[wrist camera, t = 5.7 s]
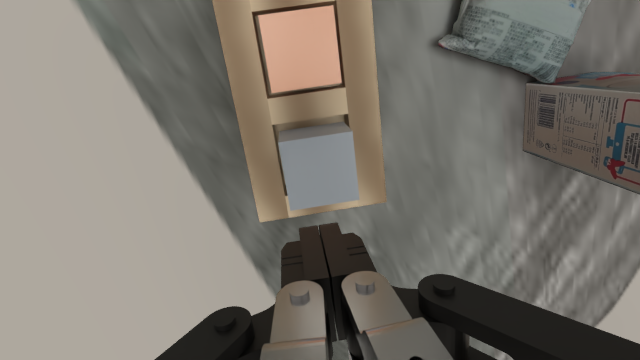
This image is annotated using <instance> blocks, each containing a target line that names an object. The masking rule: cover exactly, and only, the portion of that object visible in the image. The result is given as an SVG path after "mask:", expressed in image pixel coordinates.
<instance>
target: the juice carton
mask: <svg viewBox="0 0 640 360" xmlns="http://www.w3.org/2000/svg"><path fill="white" fill-rule="evenodd" d="M554 82H555V83H551V84H548V83H544V82H541V81H536V82H530V83H526V99H525V118H524V137H523V151H524V152H527V153H530V154H532V155H535V156H538V157H540V158H543V159H546V160H549V161H551V162H554V163H557V164H559V165H562V166H565V167H567V168H570V169H573V170H575V171H578V172H581V173H583V174H586V175H589V176H591V177H594V178H597V179H600V180H602V181H605V182H608V183H610V184H613V185H616V186H618V187H621V188H624V189H626V190H629V191H632V192H634V193H637V194H640V73H611V72H591V73H585V74H579V75H573V76H567V77H561V78H556V79H555V81H554Z"/></svg>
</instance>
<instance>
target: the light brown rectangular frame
mask: <svg viewBox="0 0 640 360" xmlns="http://www.w3.org/2000/svg"><path fill="white" fill-rule="evenodd" d="M212 2H213V7H214V11H215V16H216V21H217V25H218V30H219V35H220V39H221V44H222V49H223V53H224V58H225V63H226V67H227V72H228V77H229V81H230V86H231V91H232V95H233V100H234V105H235V109H236V114H237V119H238V123H239V128H240V133H241V137H242V142H243V147H244V151H245V156H246V161H247V165H248V170H249V175H250V179H251V184H252V189H253V193H254V198H255V203H256V207H257V212H258V217H259V221H260V222H265V221H272V220H278V219H284V218H290V217H296V216H303V215H309V214H315V213H321V212H327V211H334V210H340V209H346V208H352V207H358V206H365V205H371V204H377V203H383V202H386V188H385V175H384V161H383V148H382V135H381V121H380V108H379V95H378V81H377V68H376V54H375V41H374V28H373V14H372V1H371V0H212ZM331 5H333V7H334V16H335V25H336V35H337V44H338V53H339V62H340V71H341V81H342V83H338V84H331V85H325V86H318V87H311V88H304V89H297V90H290V91H283V92H276V93H272V92H271V86H270V81H269V75H268V69H267V64H266V58H265V52H264V47H263V41H262V35H261V29H260V24H259V18H258V15H265V14H272V13H280V12H287V11H294V10H302V9H309V8H316V7H324V6H331ZM337 122H344V123H345V124H346V125H347V126H348V127H349V128H350V129H351V130H352V131H353V141H354V151H355V160H356V170H357V180H358V190H359V199H360V200H355V201H349V202H342V203H336V204H330V205H324V206H317V207H311V208H305V209H299V210H292V211H290V206H289V200H288V194H287V189H286V183H285V178H284V172H283V166H282V161H281V155H280V150H279V144H278V140H279V131H284V130H291V129H297V128H304V127H311V126H317V125H324V124H330V123H337Z"/></svg>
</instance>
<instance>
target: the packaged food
mask: <svg viewBox="0 0 640 360" xmlns="http://www.w3.org/2000/svg"><path fill="white" fill-rule="evenodd" d="M590 2H591V0H462V1H461V6H460V11H459V16H458V19H457V21H456V22H455V23H454V25H453V32H452V34H451V35H446V36H444V37H443V38H442V39H441V40H439V42H438V44H439V46H441V47H442V48H445V49H449V50H453V51H457V52H460V53H464V54H467V55H470V56H473V57H475V58H478V59H482V60H485V61H490V62H493V63H496V64H498V65H503V66H507V67H512V68H514V69H516V70H518V71H520V72H522V73H523V74H526V75H529V76H532V77H535V78H536V79H537V80H539V81H541V82H544V83H548V84H551V83H555V82H554V81H555V79H556V77H557V75H558V72H559V69H560V68H561V66H562V64H563V62H564V60H565V57H566V55H567V53H568V51H569V49H570V46H571V45H572V44H573V40H574V38H575V35H576V32H577V30H578V28H579V26H580V23H581V21H582V17H583V15H584V13H585V11H586V8H587V6H588V5H589V3H590Z"/></svg>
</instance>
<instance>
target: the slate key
mask: <svg viewBox="0 0 640 360" xmlns="http://www.w3.org/2000/svg"><path fill="white" fill-rule="evenodd" d="M278 144H279V150H280V155H281V161H282V166H283V172H284V178H285V183H286V189H287V194H288V200H289V206H290V211H292V210H299V209H305V208H311V207H317V206H324V205H330V204H336V203H342V202H349V201H355V200H360V199H359V190H358V180H357V170H356V160H355V151H354V141H353V131H352V130H351V129H350V128H349V127H348V126H347V125H346V124H345V123H344V122H337V123H330V124H324V125H317V126H311V127H304V128H297V129H291V130H284V131H279V140H278Z"/></svg>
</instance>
